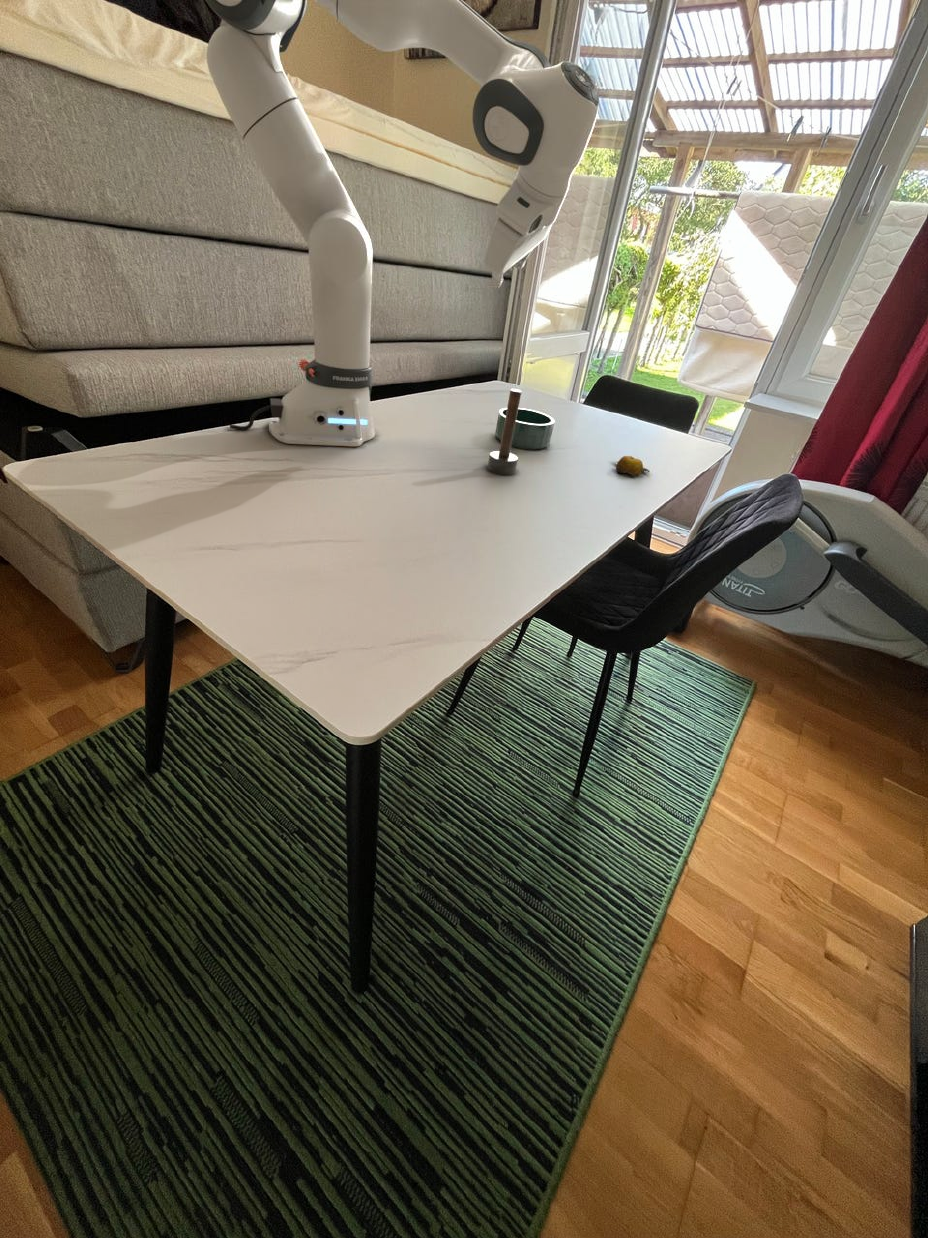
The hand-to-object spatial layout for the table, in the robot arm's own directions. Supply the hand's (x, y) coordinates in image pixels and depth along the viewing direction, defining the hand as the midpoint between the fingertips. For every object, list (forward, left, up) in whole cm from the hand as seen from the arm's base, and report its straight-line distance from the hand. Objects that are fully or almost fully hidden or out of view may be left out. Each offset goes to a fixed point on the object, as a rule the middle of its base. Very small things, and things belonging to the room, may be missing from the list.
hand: (506, 276), depth 100 cm
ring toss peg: (-2, -13, -34) cm, 36 cm away
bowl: (+14, +4, -34) cm, 37 cm away
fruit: (+31, -18, -34) cm, 49 cm away
